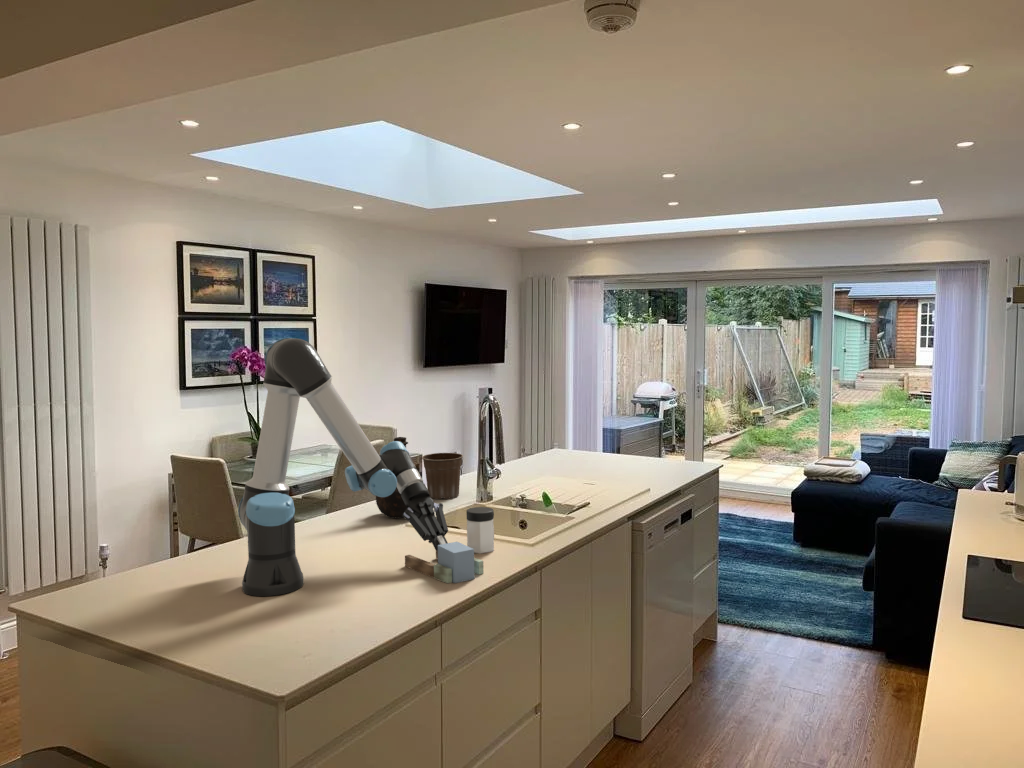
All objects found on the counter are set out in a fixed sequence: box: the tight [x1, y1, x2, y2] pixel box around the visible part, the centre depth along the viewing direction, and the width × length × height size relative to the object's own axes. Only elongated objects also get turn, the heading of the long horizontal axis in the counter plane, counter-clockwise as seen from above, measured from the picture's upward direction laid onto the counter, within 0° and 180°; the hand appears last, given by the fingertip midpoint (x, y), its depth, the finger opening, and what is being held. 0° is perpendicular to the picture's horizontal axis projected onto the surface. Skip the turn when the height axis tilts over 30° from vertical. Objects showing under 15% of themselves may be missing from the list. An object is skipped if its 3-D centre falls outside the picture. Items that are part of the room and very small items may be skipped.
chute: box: [404, 550, 484, 584], centre depth 210 cm, size 20×12×4 cm, turn 41°
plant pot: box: [421, 452, 464, 500], centre depth 303 cm, size 16×16×16 cm
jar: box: [465, 506, 495, 555], centre depth 229 cm, size 9×8×12 cm
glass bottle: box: [375, 436, 409, 519], centre depth 271 cm, size 18×18×28 cm
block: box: [437, 541, 475, 584], centre depth 204 cm, size 9×6×8 cm, turn 34°
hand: (447, 558), depth 209 cm, fingers closed
